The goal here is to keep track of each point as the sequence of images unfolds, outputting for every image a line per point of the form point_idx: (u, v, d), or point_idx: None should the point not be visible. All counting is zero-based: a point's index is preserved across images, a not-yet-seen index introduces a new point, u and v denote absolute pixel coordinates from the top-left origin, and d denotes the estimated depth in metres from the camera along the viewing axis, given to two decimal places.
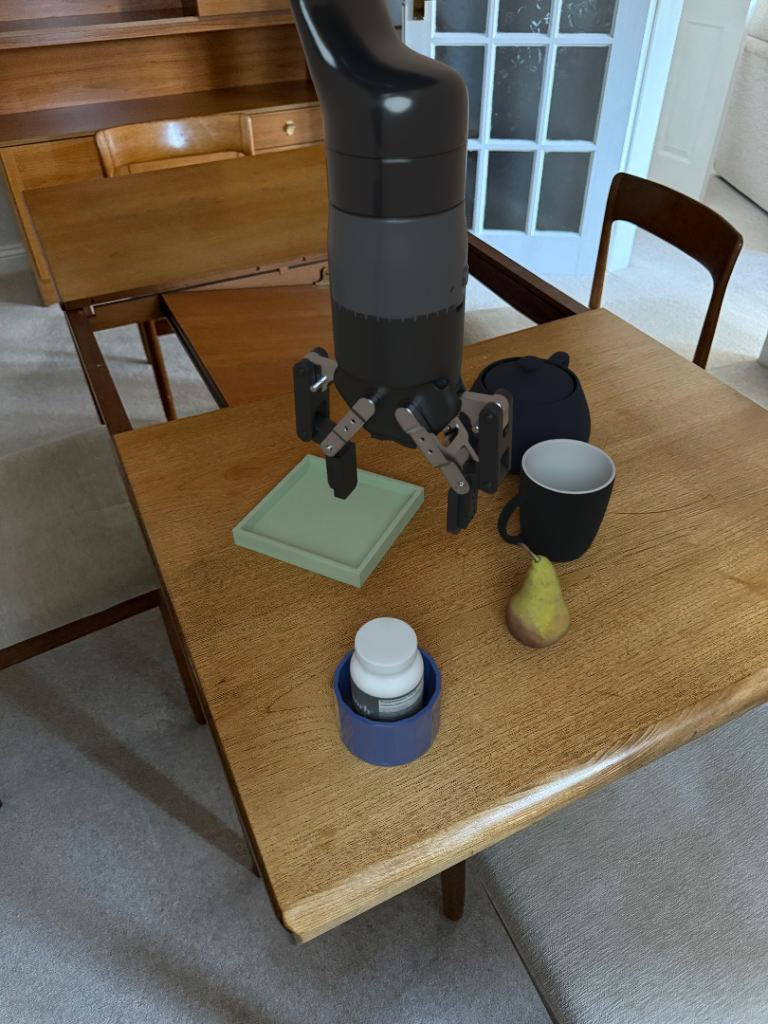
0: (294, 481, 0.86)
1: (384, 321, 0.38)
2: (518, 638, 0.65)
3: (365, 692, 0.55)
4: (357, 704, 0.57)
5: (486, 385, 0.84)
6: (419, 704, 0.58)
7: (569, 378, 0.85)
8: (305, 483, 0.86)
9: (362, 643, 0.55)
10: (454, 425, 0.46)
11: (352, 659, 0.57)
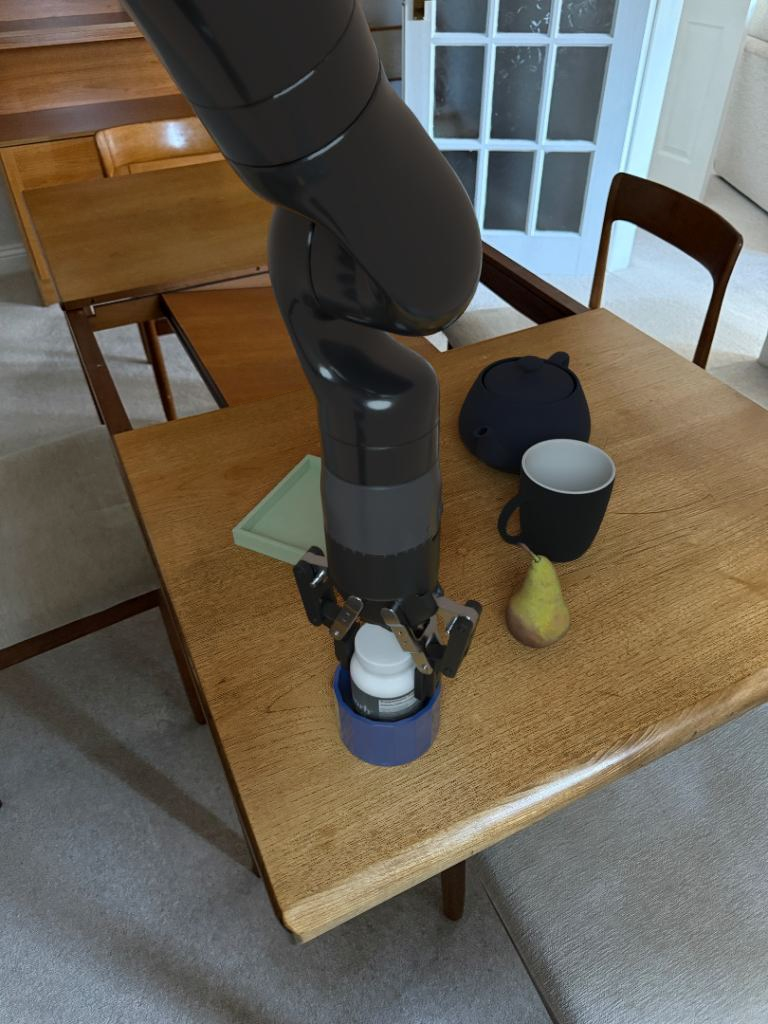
0: (294, 481, 0.86)
1: (369, 556, 0.44)
2: (518, 638, 0.65)
3: (365, 692, 0.55)
4: (357, 704, 0.57)
5: (486, 385, 0.84)
6: (419, 704, 0.58)
7: (569, 378, 0.85)
8: (305, 483, 0.86)
9: (362, 643, 0.55)
10: None
11: (352, 659, 0.57)
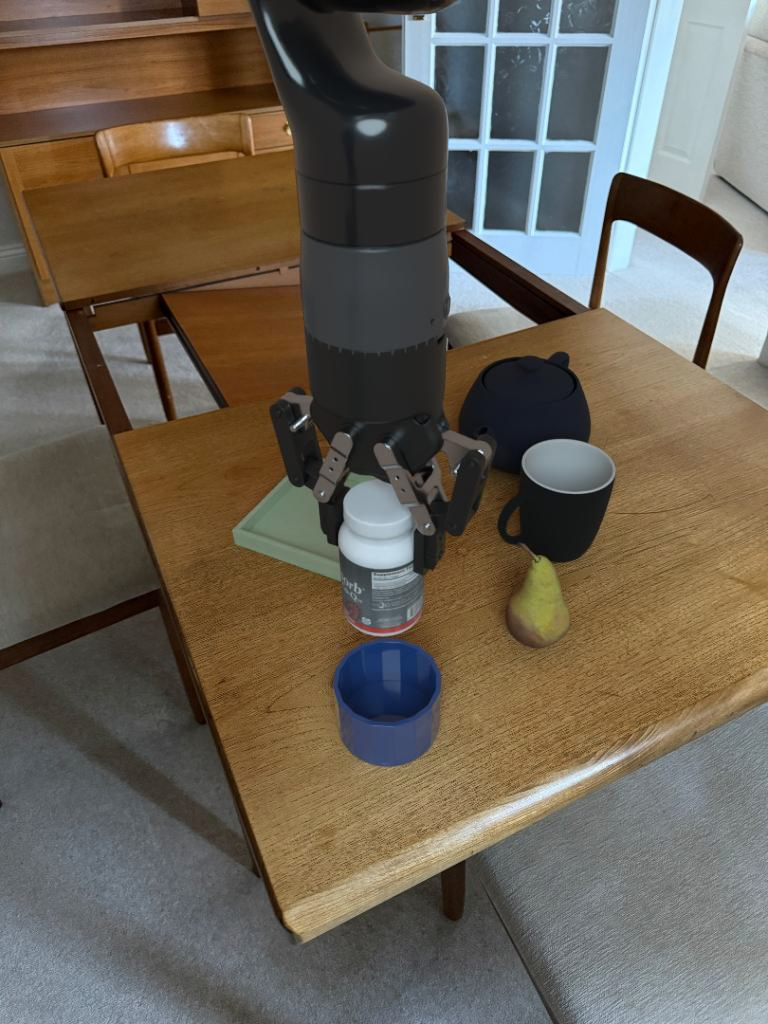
0: None
1: (359, 355, 0.36)
2: (518, 638, 0.65)
3: (355, 562, 0.47)
4: (346, 583, 0.49)
5: (486, 385, 0.84)
6: (419, 585, 0.49)
7: (569, 378, 0.85)
8: None
9: (352, 503, 0.46)
10: (429, 463, 0.44)
11: (341, 528, 0.48)
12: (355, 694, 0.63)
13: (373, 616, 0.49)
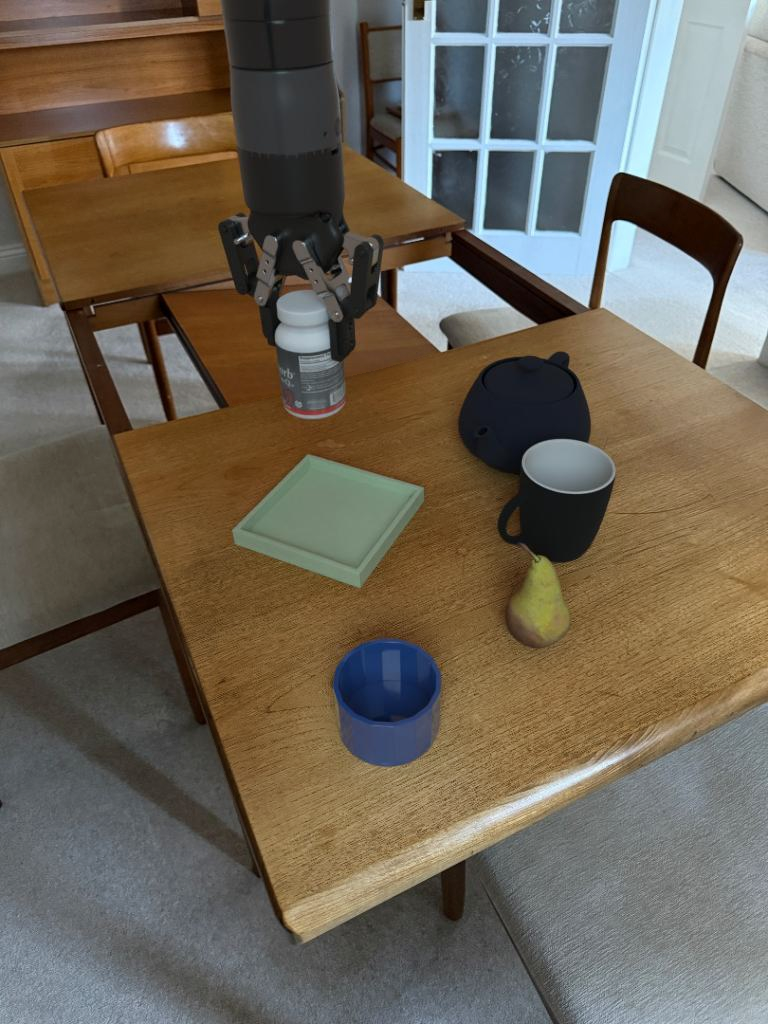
0: (294, 481, 0.86)
1: (273, 158, 0.50)
2: (518, 638, 0.65)
3: (286, 349, 0.61)
4: (282, 372, 0.63)
5: (486, 385, 0.84)
6: (338, 374, 0.64)
7: (569, 378, 0.85)
8: (305, 483, 0.86)
9: (283, 302, 0.60)
10: (339, 266, 0.59)
11: (277, 328, 0.62)
12: (355, 694, 0.63)
13: (303, 399, 0.63)
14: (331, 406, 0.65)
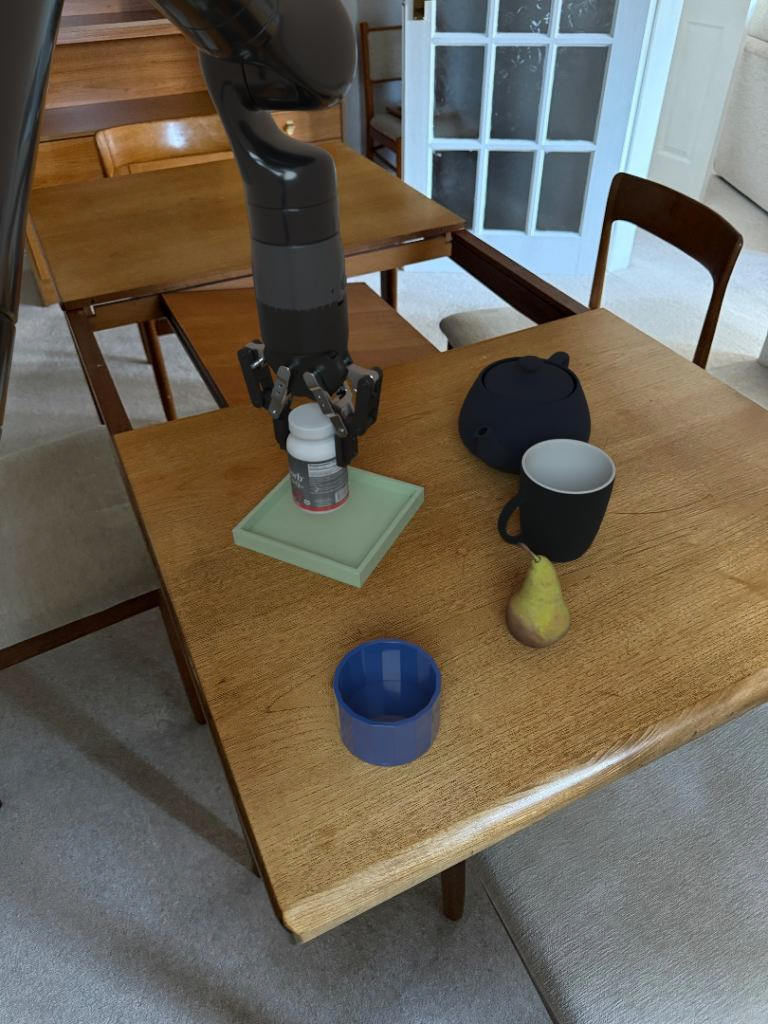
0: None
1: (287, 312, 0.58)
2: (518, 638, 0.65)
3: (296, 458, 0.69)
4: (292, 475, 0.71)
5: (486, 385, 0.84)
6: (343, 476, 0.71)
7: (569, 378, 0.85)
8: None
9: (294, 417, 0.68)
10: (343, 388, 0.67)
11: (288, 436, 0.70)
12: (355, 694, 0.63)
13: (311, 498, 0.71)
14: (336, 503, 0.72)
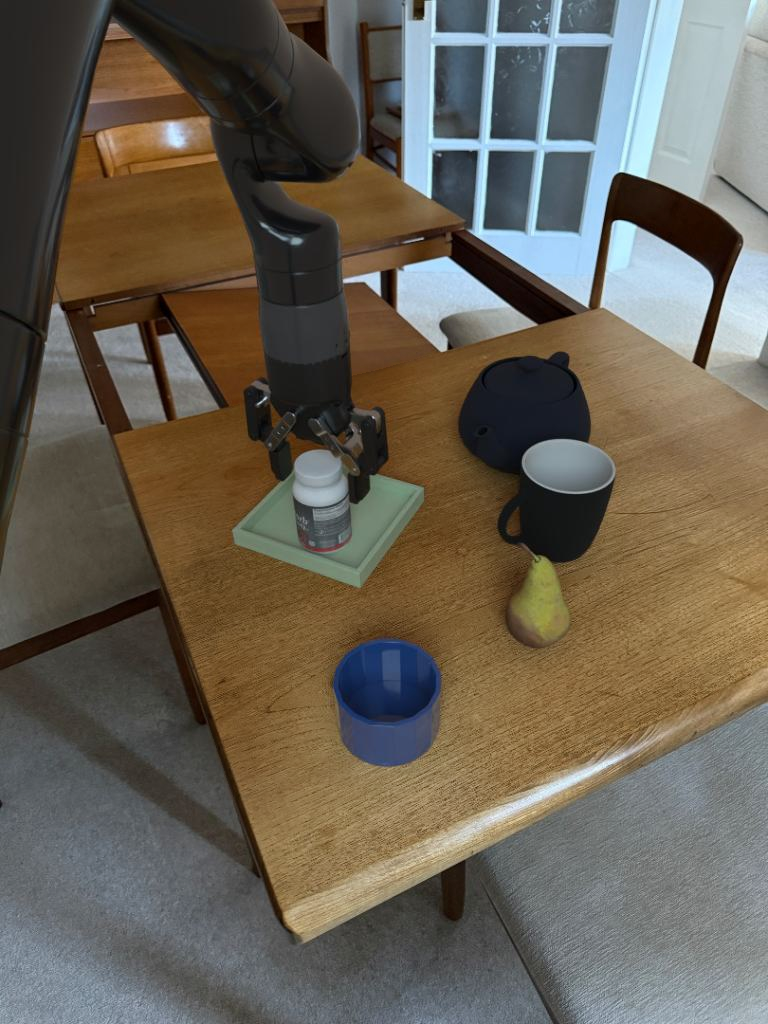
0: None
1: (294, 365, 0.61)
2: (518, 638, 0.65)
3: (302, 503, 0.72)
4: (298, 518, 0.74)
5: (486, 385, 0.84)
6: (346, 519, 0.75)
7: (569, 378, 0.85)
8: None
9: (299, 464, 0.72)
10: (350, 429, 0.69)
11: (293, 482, 0.74)
12: (355, 694, 0.63)
13: (316, 540, 0.75)
14: (339, 544, 0.76)
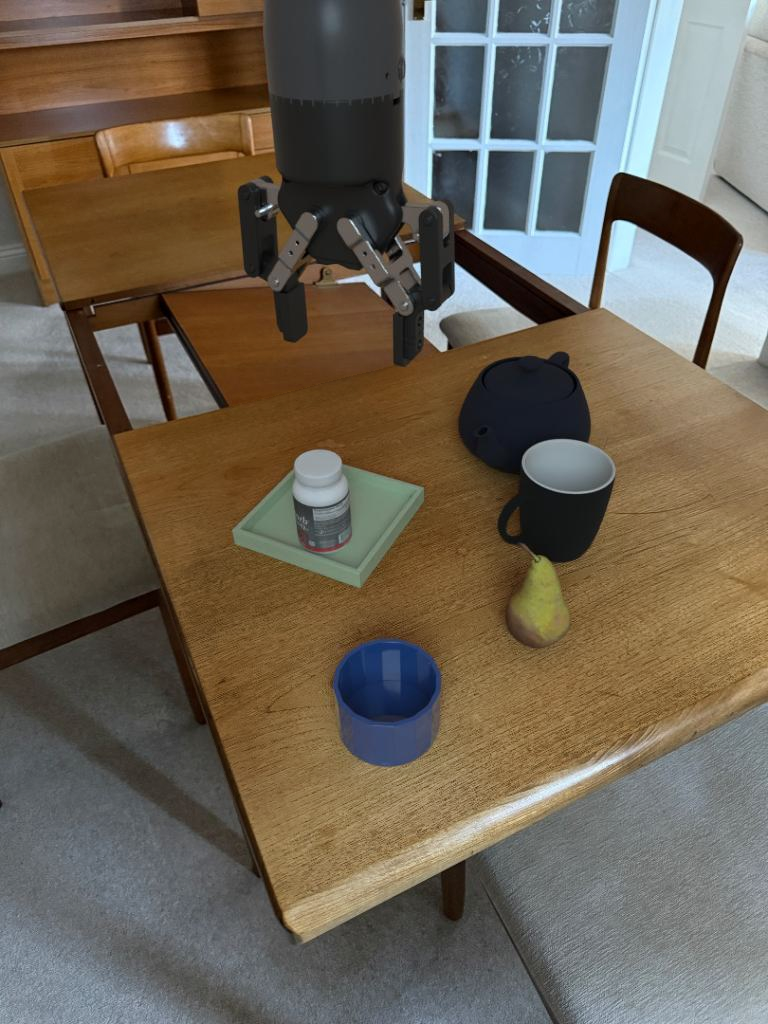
0: None
1: (319, 106, 0.38)
2: (518, 638, 0.65)
3: (302, 503, 0.72)
4: (298, 518, 0.74)
5: (486, 385, 0.84)
6: (346, 519, 0.75)
7: (569, 378, 0.85)
8: None
9: (299, 464, 0.72)
10: (398, 247, 0.46)
11: (294, 482, 0.74)
12: (355, 694, 0.63)
13: (316, 540, 0.75)
14: (339, 544, 0.76)
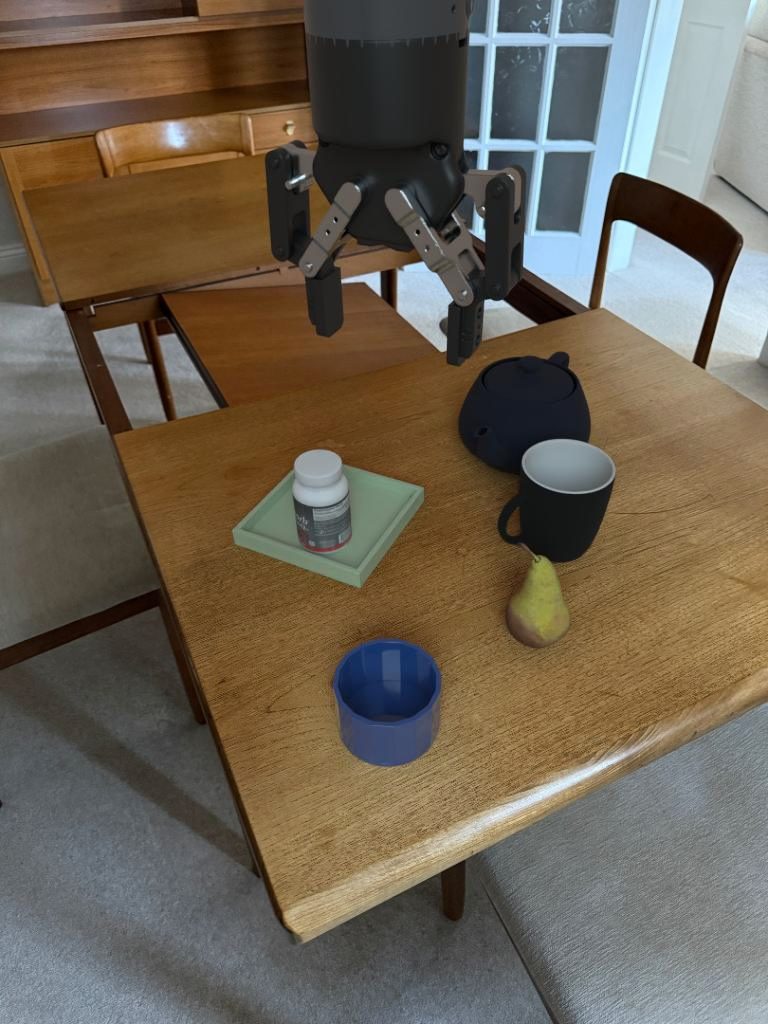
0: None
1: (370, 47, 0.31)
2: (518, 638, 0.65)
3: (302, 503, 0.72)
4: (298, 518, 0.74)
5: (486, 385, 0.84)
6: (346, 519, 0.75)
7: (569, 378, 0.85)
8: None
9: (299, 464, 0.72)
10: (455, 225, 0.39)
11: (293, 482, 0.74)
12: (355, 694, 0.63)
13: (316, 540, 0.75)
14: (339, 544, 0.76)
